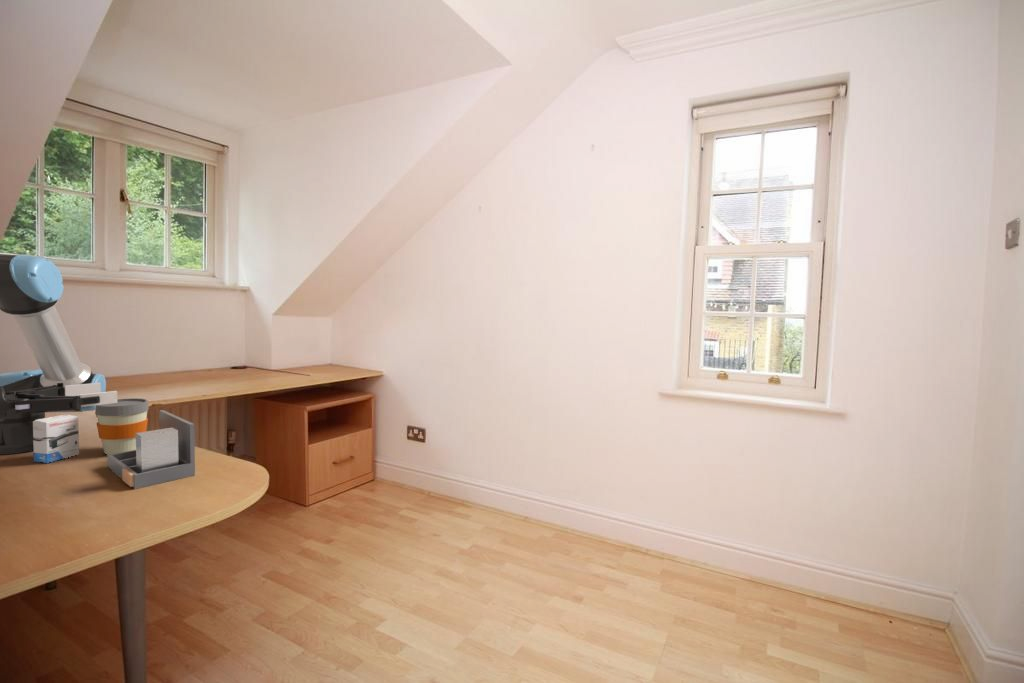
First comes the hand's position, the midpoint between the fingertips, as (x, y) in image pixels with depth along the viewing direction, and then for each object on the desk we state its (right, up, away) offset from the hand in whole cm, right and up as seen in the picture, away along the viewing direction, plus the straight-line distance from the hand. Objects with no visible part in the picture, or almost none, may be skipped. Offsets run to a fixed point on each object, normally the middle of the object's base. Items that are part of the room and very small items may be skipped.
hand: (108, 392), depth 115 cm
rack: (-1, -23, +14) cm, 27 cm away
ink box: (-33, -21, +21) cm, 45 cm away
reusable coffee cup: (-21, -21, +30) cm, 42 cm away
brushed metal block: (+5, -23, +10) cm, 25 cm away
